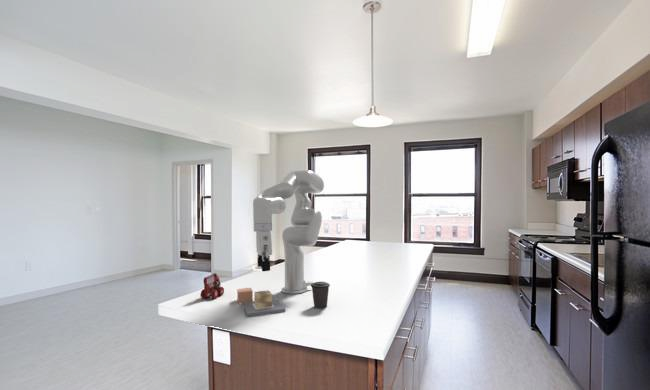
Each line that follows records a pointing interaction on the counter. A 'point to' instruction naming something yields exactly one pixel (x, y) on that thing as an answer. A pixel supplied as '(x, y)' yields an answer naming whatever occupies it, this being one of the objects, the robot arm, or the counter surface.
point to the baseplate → (254, 311)
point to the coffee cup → (320, 294)
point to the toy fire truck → (212, 287)
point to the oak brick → (263, 299)
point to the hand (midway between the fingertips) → (263, 268)
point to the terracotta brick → (244, 295)
